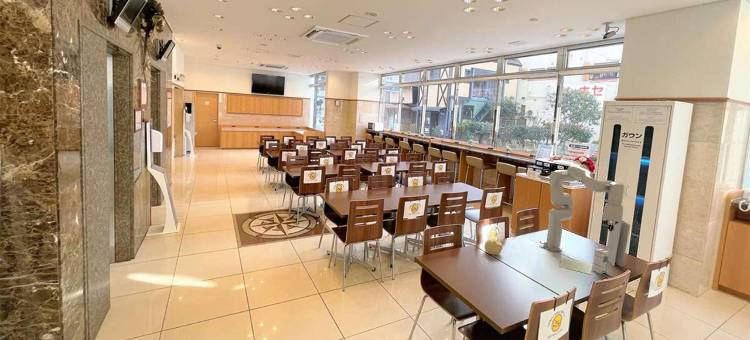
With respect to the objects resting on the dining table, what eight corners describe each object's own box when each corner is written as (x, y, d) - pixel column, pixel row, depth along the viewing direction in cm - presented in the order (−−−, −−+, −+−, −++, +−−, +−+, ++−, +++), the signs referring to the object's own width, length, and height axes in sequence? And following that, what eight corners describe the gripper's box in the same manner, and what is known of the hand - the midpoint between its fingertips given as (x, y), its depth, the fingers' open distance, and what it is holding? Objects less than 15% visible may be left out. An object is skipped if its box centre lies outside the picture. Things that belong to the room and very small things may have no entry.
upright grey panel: (622, 267, 243) (630, 224, 238) (613, 266, 244) (621, 223, 239) (613, 259, 257) (620, 218, 252) (605, 258, 258) (611, 218, 253)
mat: (559, 266, 238) (559, 266, 238) (563, 257, 254) (563, 257, 254) (590, 274, 228) (590, 274, 228) (592, 264, 245) (592, 264, 245)
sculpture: (503, 257, 249) (504, 242, 247) (485, 255, 250) (486, 240, 249) (500, 251, 260) (501, 237, 258) (483, 249, 262) (484, 235, 260)
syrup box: (600, 273, 230) (604, 252, 228) (591, 270, 236) (595, 249, 233) (606, 272, 233) (609, 251, 231) (596, 268, 238) (600, 248, 236)
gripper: (600, 201, 226) (596, 229, 228) (629, 205, 217) (624, 234, 220) (600, 199, 232) (597, 227, 234) (629, 203, 223) (624, 232, 226)
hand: (610, 230), depth 227 cm, fingers closed
